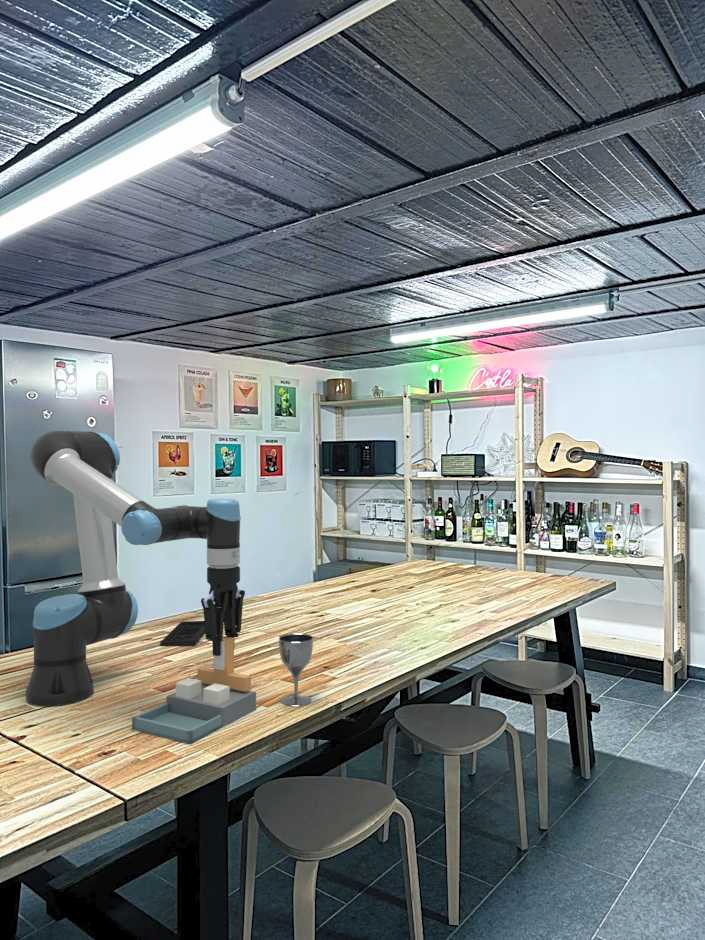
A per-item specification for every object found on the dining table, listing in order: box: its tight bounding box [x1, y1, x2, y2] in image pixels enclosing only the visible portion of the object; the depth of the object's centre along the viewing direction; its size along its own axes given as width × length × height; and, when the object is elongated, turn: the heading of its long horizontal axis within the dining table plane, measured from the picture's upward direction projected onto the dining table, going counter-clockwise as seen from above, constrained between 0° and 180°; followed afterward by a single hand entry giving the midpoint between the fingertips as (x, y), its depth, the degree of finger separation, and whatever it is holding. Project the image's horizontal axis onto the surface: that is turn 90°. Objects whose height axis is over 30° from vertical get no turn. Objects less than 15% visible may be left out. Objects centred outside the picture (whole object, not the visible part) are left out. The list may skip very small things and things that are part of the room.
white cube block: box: [175, 677, 201, 699], centre depth 156 cm, size 4×4×3 cm
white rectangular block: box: [203, 684, 230, 705], centre depth 152 cm, size 4×4×3 cm
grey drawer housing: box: [165, 683, 257, 728], centre depth 157 cm, size 16×12×4 cm
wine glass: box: [278, 632, 314, 707], centre depth 164 cm, size 8×8×15 cm
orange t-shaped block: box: [197, 635, 252, 692], centre depth 161 cm, size 14×2×11 cm, turn 61°
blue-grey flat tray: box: [131, 702, 223, 745], centre depth 147 cm, size 16×10×2 cm, turn 61°
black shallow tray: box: [159, 620, 244, 647], centre depth 225 cm, size 26×3×30 cm
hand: (223, 666), depth 161 cm, fingers closed on orange t-shaped block, 2 cm apart
